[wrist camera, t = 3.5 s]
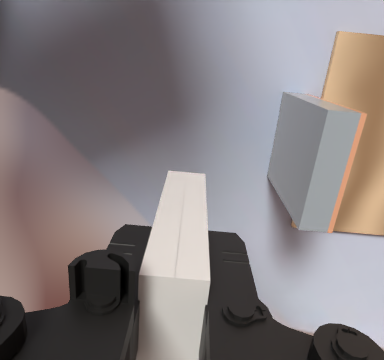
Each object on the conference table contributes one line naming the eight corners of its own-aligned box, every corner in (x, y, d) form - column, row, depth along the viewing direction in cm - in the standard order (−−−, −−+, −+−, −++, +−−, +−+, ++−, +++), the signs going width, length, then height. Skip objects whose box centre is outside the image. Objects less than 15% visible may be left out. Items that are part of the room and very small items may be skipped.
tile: (267, 175, 27) (298, 229, 18) (283, 91, 24) (328, 110, 16) (290, 177, 27) (332, 232, 18) (308, 94, 24) (367, 113, 16)
